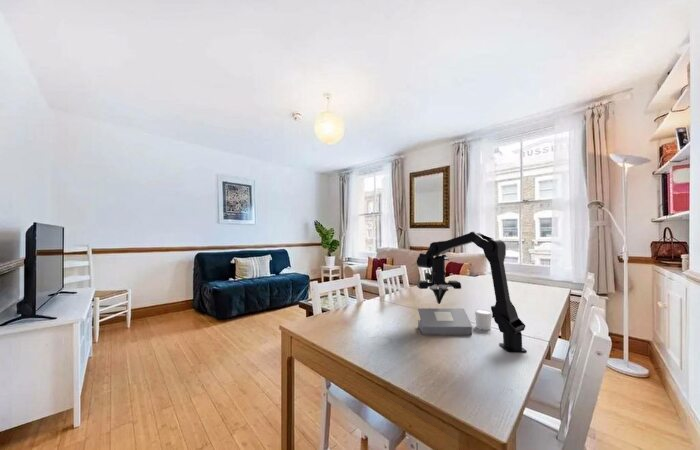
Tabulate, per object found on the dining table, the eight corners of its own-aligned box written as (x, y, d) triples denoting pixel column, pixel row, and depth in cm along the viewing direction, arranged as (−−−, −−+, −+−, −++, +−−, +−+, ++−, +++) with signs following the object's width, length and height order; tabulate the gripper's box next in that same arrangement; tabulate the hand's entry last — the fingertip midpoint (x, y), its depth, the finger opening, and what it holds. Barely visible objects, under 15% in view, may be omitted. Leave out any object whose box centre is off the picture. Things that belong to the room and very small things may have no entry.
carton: (471, 334, 110) (471, 327, 110) (423, 334, 111) (423, 327, 111) (463, 327, 119) (463, 320, 119) (418, 327, 120) (418, 320, 120)
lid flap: (472, 327, 110) (472, 326, 110) (422, 327, 111) (422, 326, 110) (463, 309, 119) (463, 308, 119) (417, 309, 119) (417, 308, 119)
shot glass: (495, 330, 115) (494, 314, 116) (479, 330, 116) (478, 313, 116) (487, 324, 122) (487, 309, 123) (472, 324, 122) (472, 309, 123)
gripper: (452, 267, 131) (452, 299, 130) (414, 267, 131) (414, 299, 130) (461, 270, 119) (462, 305, 119) (419, 270, 120) (419, 305, 119)
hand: (438, 303), depth 122 cm, fingers closed
